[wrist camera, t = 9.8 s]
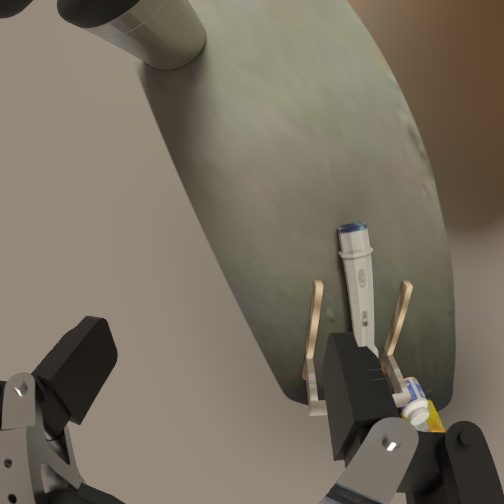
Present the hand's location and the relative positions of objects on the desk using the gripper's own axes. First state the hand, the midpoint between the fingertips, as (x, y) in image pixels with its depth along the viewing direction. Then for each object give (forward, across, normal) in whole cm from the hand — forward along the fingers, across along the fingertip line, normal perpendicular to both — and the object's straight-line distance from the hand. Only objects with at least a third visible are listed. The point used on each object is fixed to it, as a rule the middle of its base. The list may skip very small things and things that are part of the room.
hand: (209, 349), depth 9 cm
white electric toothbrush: (+28, -15, +15) cm, 36 cm away
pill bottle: (+27, -31, +36) cm, 54 cm away
